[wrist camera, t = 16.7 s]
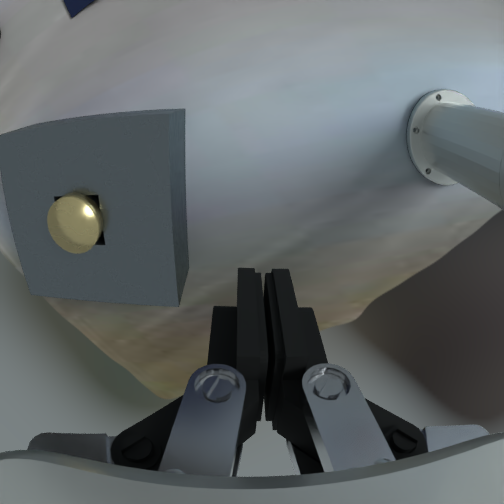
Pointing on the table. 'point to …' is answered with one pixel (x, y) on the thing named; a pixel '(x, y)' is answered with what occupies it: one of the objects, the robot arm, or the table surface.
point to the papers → (76, 5)
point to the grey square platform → (102, 204)
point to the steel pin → (75, 222)
